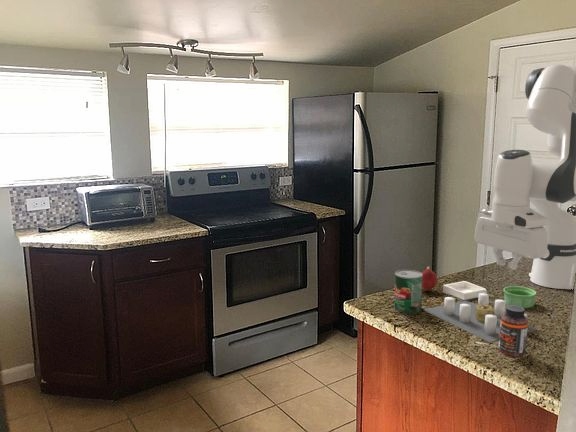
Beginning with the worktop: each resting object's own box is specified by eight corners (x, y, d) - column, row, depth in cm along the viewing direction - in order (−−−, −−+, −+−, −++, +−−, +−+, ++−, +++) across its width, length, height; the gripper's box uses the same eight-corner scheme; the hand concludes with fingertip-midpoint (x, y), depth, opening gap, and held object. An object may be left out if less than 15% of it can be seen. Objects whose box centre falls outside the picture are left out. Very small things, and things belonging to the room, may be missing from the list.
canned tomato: (425, 308, 154) (426, 272, 152) (415, 316, 147) (417, 279, 145) (400, 302, 158) (401, 268, 156) (389, 311, 152) (390, 274, 150)
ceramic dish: (464, 288, 171) (464, 280, 170) (486, 296, 162) (486, 288, 162) (442, 292, 167) (443, 285, 166) (463, 301, 159) (464, 293, 158)
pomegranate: (437, 294, 165) (438, 270, 163) (418, 293, 166) (419, 269, 165) (436, 288, 170) (437, 265, 169) (417, 287, 172) (418, 264, 170)
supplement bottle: (494, 352, 124) (497, 307, 122) (504, 345, 128) (507, 301, 126) (519, 360, 120) (522, 314, 118) (529, 352, 124) (533, 307, 122)
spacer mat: (466, 301, 158) (467, 286, 158) (536, 330, 136) (538, 313, 135) (422, 310, 151) (423, 294, 150) (489, 343, 129) (490, 325, 128)
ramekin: (535, 312, 150) (536, 297, 149) (501, 307, 153) (502, 293, 153) (535, 301, 158) (536, 288, 157) (503, 298, 161) (504, 284, 161)
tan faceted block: (484, 315, 146) (484, 303, 146) (495, 320, 143) (496, 308, 142) (471, 318, 144) (472, 306, 144) (482, 323, 141) (483, 310, 140)
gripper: (470, 209, 140) (467, 259, 142) (535, 222, 122) (530, 279, 124) (487, 207, 142) (484, 256, 145) (553, 220, 124) (549, 275, 127)
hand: (506, 267), depth 135 cm, fingers open, 2 cm apart
